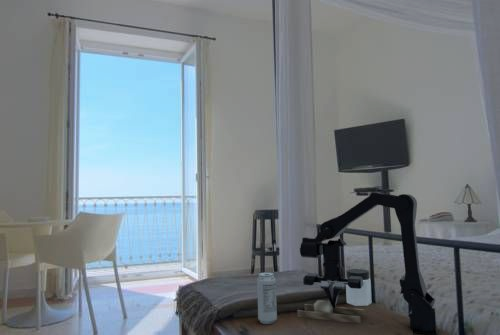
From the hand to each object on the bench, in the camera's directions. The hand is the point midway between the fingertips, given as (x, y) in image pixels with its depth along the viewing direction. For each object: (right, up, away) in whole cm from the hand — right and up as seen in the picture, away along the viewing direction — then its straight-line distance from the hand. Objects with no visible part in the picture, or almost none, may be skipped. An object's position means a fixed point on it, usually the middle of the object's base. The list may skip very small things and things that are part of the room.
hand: (333, 307), depth 126 cm
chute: (-1, -3, 0) cm, 3 cm away
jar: (+12, -4, +15) cm, 20 cm away
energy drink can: (-22, -4, -2) cm, 22 cm away
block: (-3, -3, +1) cm, 4 cm away
